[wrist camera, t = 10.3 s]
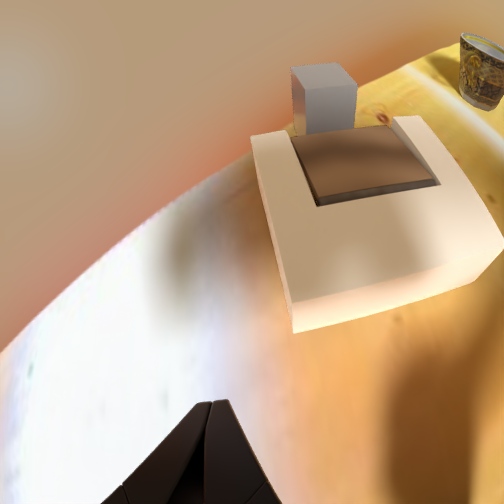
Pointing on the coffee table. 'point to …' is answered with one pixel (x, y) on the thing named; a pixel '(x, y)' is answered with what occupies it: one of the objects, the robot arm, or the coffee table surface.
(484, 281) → the coffee table surface
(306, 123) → the stone
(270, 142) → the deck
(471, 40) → the ceramic cup
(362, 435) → the coffee table surface
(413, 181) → the trapdoor
